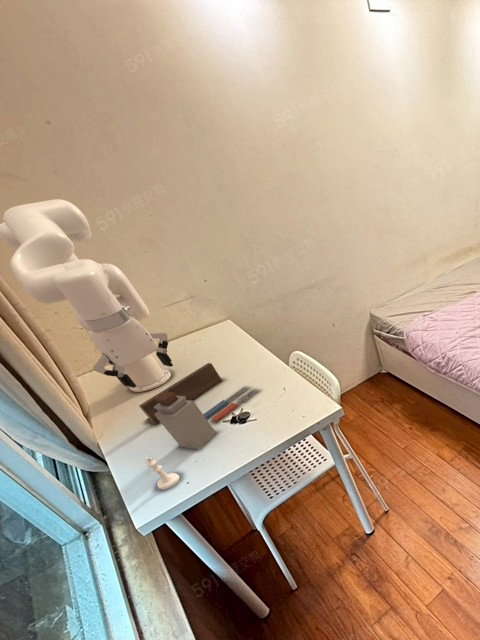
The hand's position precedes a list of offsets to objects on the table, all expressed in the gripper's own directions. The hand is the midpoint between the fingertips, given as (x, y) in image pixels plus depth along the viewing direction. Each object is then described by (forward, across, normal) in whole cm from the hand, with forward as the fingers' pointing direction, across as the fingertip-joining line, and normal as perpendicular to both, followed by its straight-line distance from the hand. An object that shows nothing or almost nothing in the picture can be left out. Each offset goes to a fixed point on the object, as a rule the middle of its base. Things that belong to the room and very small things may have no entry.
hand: (150, 375), depth 104 cm
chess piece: (+25, +14, +7) cm, 30 cm away
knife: (+25, -15, -7) cm, 29 cm away
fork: (+25, -15, -2) cm, 29 cm away
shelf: (+24, -12, -22) cm, 35 cm away
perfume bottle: (+25, 0, 0) cm, 25 cm away
